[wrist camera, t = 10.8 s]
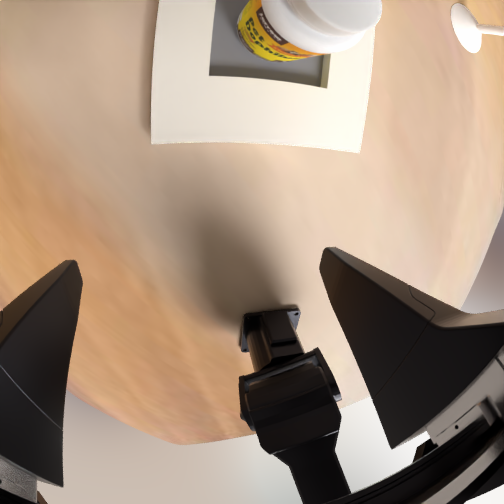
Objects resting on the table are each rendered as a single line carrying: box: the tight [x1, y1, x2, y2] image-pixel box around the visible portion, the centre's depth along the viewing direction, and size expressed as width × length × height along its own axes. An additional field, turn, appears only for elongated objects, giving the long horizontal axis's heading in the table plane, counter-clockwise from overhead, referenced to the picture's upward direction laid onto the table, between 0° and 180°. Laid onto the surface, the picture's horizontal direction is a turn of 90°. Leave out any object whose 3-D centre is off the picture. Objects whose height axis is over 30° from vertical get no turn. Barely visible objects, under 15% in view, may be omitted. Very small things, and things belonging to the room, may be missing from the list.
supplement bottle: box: [237, 0, 382, 62], centre depth 11 cm, size 6×6×10 cm
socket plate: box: [151, 0, 375, 153], centre depth 14 cm, size 18×16×2 cm
